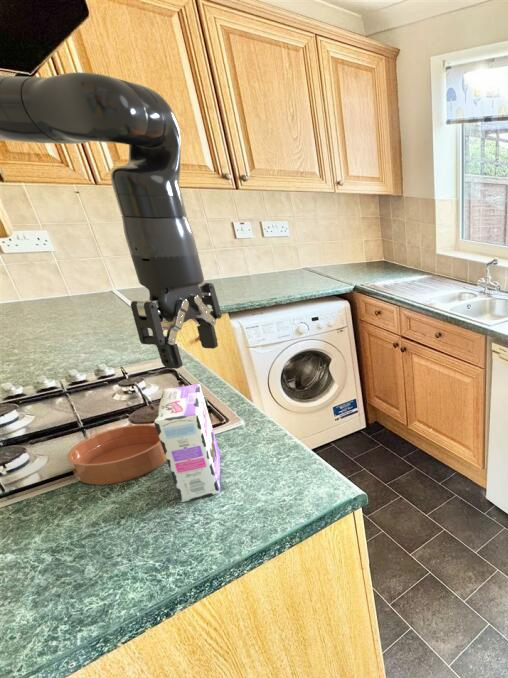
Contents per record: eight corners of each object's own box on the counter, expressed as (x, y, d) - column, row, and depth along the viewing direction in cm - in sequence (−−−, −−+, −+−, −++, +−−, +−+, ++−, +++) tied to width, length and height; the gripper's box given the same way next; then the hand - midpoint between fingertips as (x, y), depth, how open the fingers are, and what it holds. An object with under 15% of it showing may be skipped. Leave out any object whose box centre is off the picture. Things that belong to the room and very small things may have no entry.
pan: (54, 488, 74) (44, 467, 72) (110, 444, 87) (103, 425, 85) (145, 483, 76) (138, 463, 74) (187, 441, 89) (181, 423, 87)
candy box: (221, 494, 75) (197, 414, 68) (180, 504, 72) (151, 422, 65) (221, 454, 86) (201, 381, 79) (186, 462, 83) (161, 387, 76)
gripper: (173, 242, 65) (198, 341, 72) (91, 255, 52) (132, 373, 59) (222, 246, 66) (243, 343, 72) (154, 259, 53) (187, 376, 59)
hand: (193, 357), depth 66 cm, fingers open, 8 cm apart
